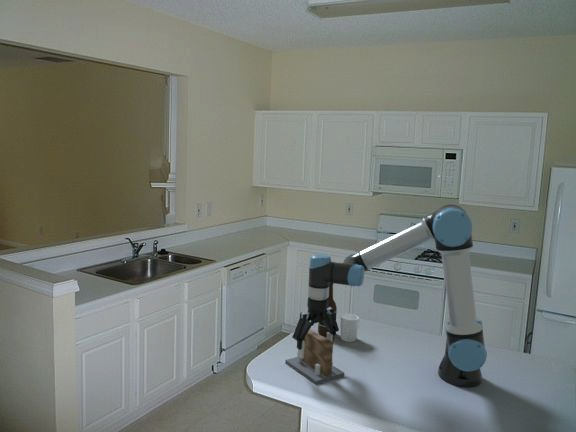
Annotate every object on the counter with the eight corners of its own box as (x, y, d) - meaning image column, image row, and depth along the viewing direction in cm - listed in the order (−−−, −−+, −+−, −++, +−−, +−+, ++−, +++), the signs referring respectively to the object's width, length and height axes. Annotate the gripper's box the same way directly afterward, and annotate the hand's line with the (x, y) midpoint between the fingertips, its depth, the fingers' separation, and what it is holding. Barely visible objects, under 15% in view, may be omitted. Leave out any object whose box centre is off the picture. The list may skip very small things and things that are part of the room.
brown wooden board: (331, 374, 176) (333, 342, 174) (322, 376, 174) (324, 344, 172) (305, 357, 189) (306, 327, 187) (297, 359, 187) (298, 329, 185)
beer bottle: (316, 335, 213) (319, 282, 210) (319, 329, 221) (322, 277, 217) (333, 338, 212) (337, 284, 208) (336, 331, 219) (339, 279, 215)
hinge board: (344, 375, 177) (345, 363, 177) (315, 384, 170) (316, 371, 169) (312, 355, 193) (313, 344, 192) (285, 362, 186) (285, 351, 185)
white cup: (343, 343, 207) (344, 320, 205) (336, 335, 214) (337, 314, 213) (360, 341, 209) (362, 319, 207) (353, 334, 216) (354, 313, 215)
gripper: (337, 290, 187) (334, 343, 190) (284, 298, 174) (281, 356, 177) (350, 295, 181) (347, 350, 184) (296, 305, 168) (293, 364, 171)
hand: (315, 353), depth 181 cm, fingers open, 12 cm apart
